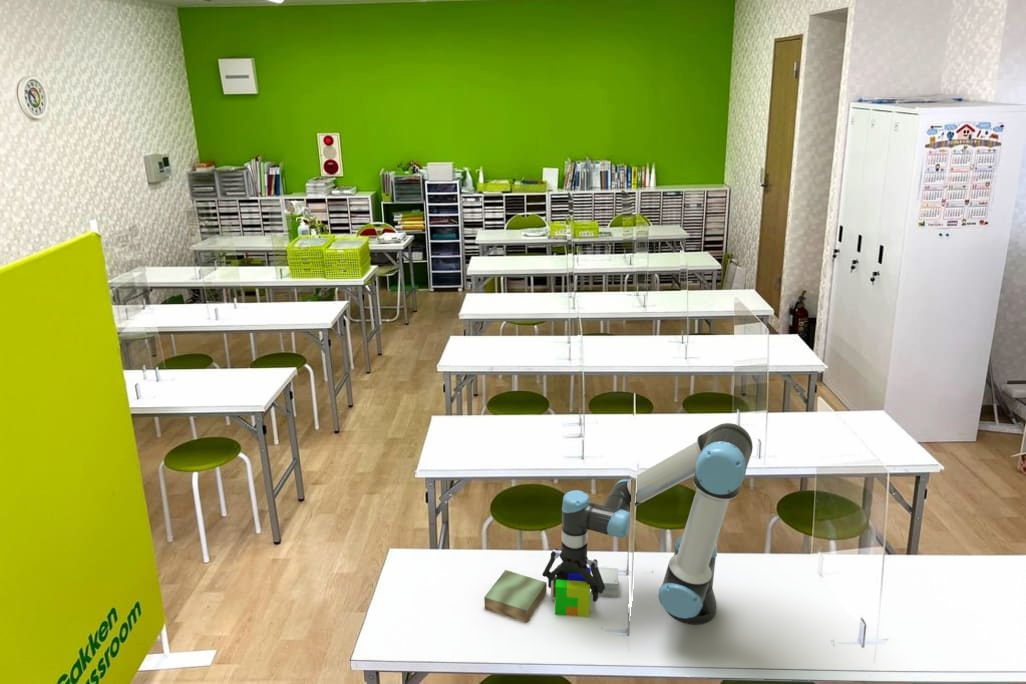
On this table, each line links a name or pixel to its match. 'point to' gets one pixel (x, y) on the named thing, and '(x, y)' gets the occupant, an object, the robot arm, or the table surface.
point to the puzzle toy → (571, 594)
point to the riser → (515, 596)
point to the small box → (609, 581)
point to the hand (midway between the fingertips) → (572, 602)
